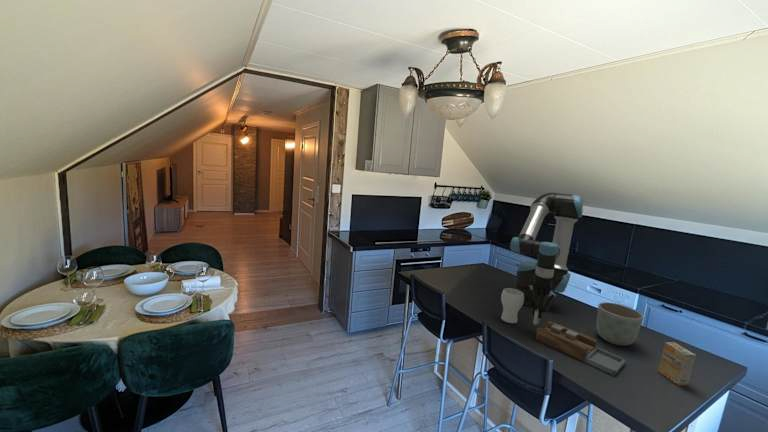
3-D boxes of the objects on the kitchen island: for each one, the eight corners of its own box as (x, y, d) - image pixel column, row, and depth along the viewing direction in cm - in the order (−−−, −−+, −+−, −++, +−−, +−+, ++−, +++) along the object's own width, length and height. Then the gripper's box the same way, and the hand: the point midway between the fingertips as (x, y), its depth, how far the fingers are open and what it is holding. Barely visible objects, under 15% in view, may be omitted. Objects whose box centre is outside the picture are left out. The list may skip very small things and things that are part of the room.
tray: (595, 351, 141) (596, 346, 141) (624, 364, 133) (625, 359, 133) (583, 362, 132) (584, 357, 132) (614, 376, 124) (615, 371, 124)
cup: (522, 326, 159) (526, 297, 156) (499, 322, 161) (503, 294, 158) (518, 316, 169) (522, 289, 167) (496, 313, 171) (500, 286, 169)
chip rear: (553, 331, 150) (555, 323, 149) (562, 335, 147) (564, 327, 146) (549, 334, 147) (551, 326, 146) (559, 338, 144) (560, 330, 143)
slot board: (547, 331, 156) (549, 320, 155) (594, 351, 141) (597, 340, 140) (535, 339, 148) (537, 328, 147) (583, 361, 133) (586, 349, 132)
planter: (628, 336, 158) (634, 306, 155) (643, 354, 142) (650, 322, 139) (588, 328, 163) (594, 299, 160) (598, 345, 147) (604, 313, 144)
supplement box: (657, 371, 130) (664, 341, 128) (668, 371, 130) (675, 341, 128) (677, 385, 122) (685, 354, 120) (688, 386, 122) (696, 354, 120)
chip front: (567, 337, 145) (568, 329, 144) (577, 342, 142) (578, 333, 141) (563, 340, 143) (565, 332, 142) (573, 344, 140) (575, 336, 139)
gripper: (526, 272, 152) (518, 319, 156) (554, 281, 142) (546, 331, 146) (533, 270, 157) (526, 315, 161) (562, 278, 147) (553, 327, 151)
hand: (535, 323), depth 154 cm, fingers closed
